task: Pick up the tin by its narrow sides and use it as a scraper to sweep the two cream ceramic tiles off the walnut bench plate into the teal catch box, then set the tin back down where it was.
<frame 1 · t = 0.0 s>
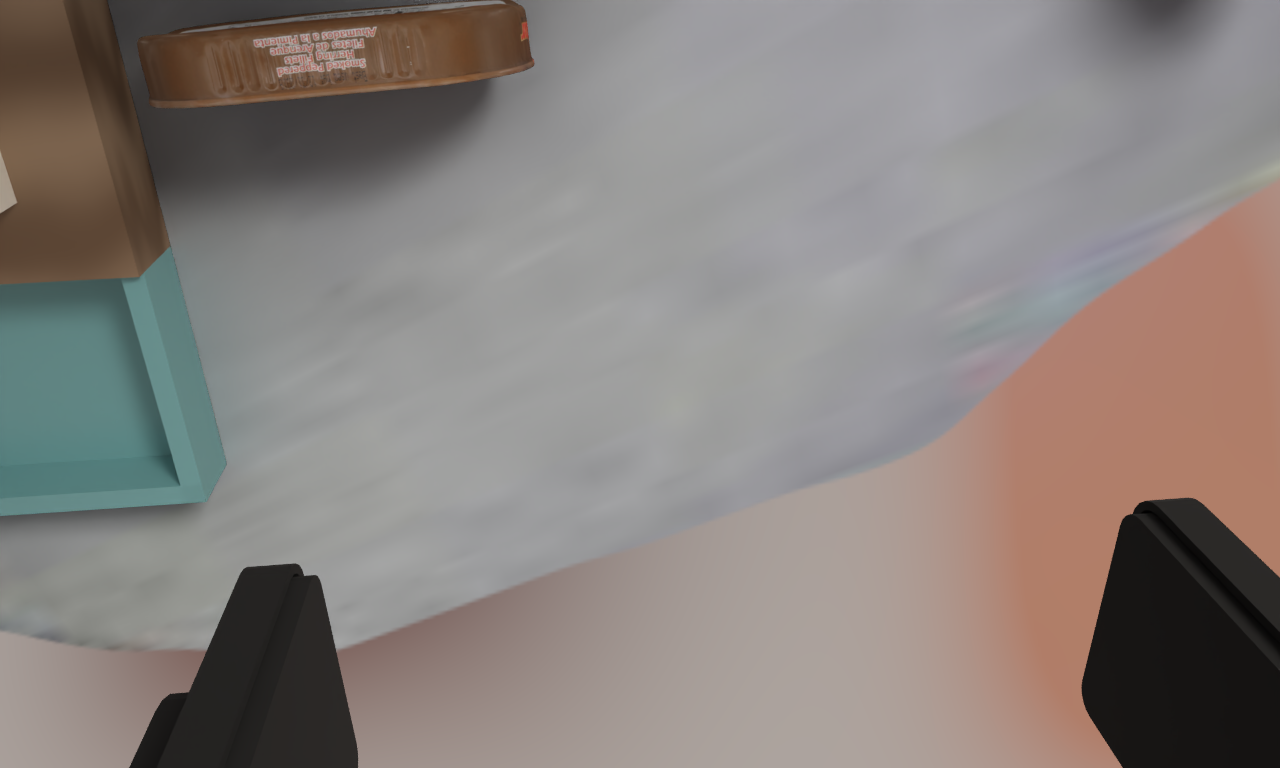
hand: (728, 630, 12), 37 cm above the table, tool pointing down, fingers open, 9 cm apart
tin: (358, 33, 43), on the table
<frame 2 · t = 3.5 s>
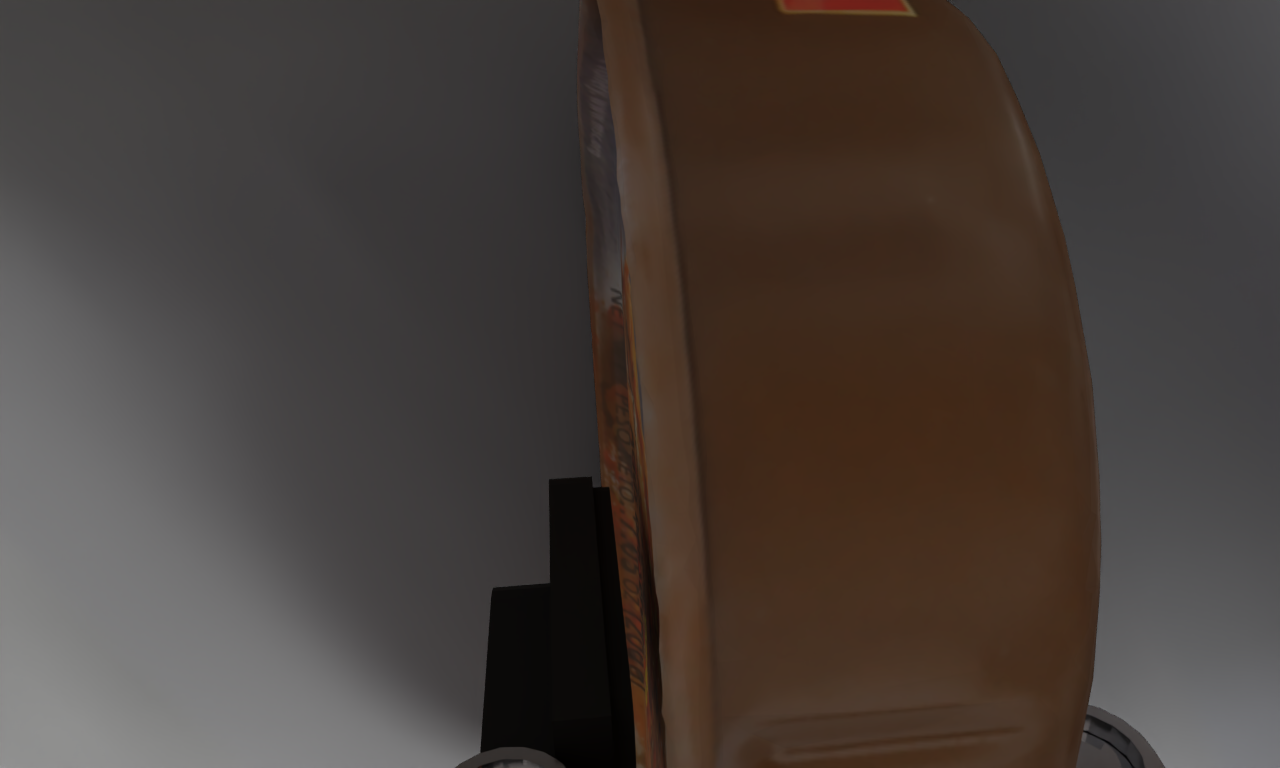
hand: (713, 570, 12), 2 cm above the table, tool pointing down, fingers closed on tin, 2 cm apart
tin: (708, 477, 14), on the table, touching gripper
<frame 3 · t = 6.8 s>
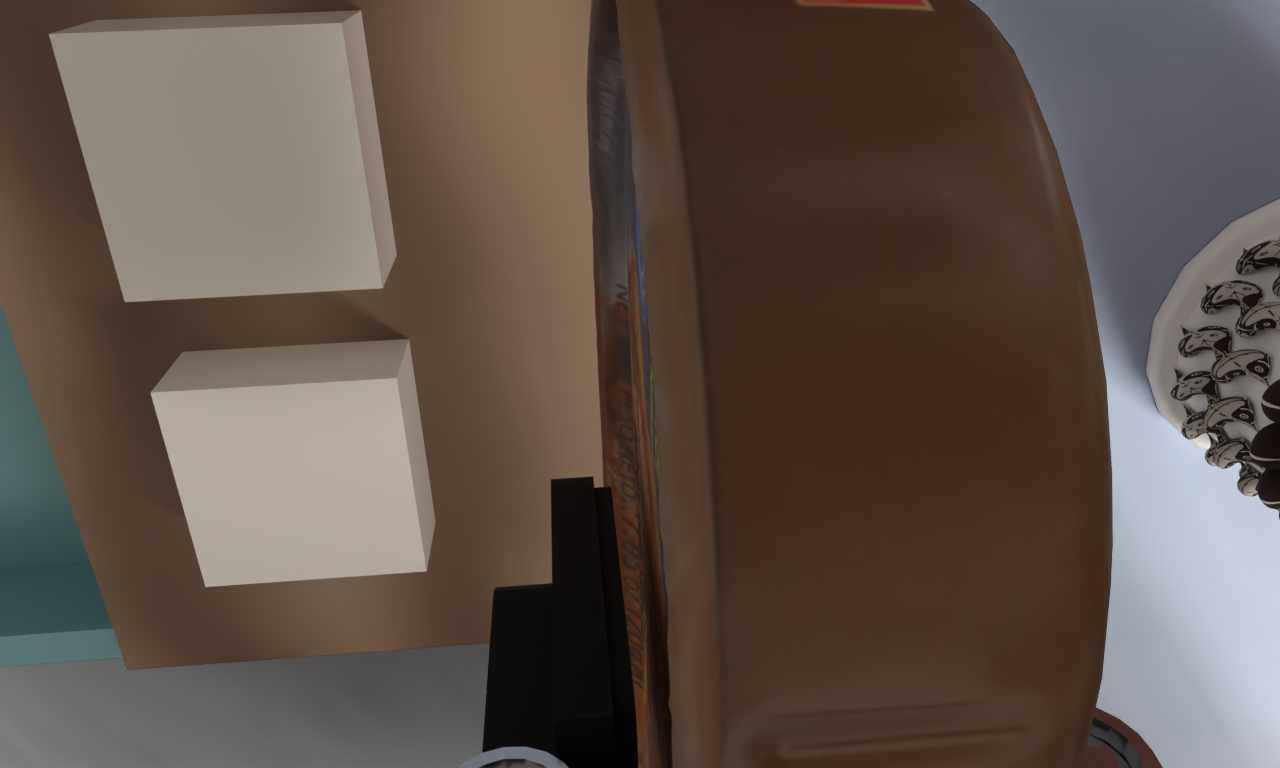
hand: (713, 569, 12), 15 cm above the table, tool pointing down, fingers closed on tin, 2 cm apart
tin: (710, 476, 14), point 13 cm above the table, touching gripper
cream tile 1: (256, 145, 20), point 4 cm above the table, touching bench plate
cream tile 2: (316, 441, 23), point 4 cm above the table, touching bench plate
bench plate: (443, 239, 25), on the table
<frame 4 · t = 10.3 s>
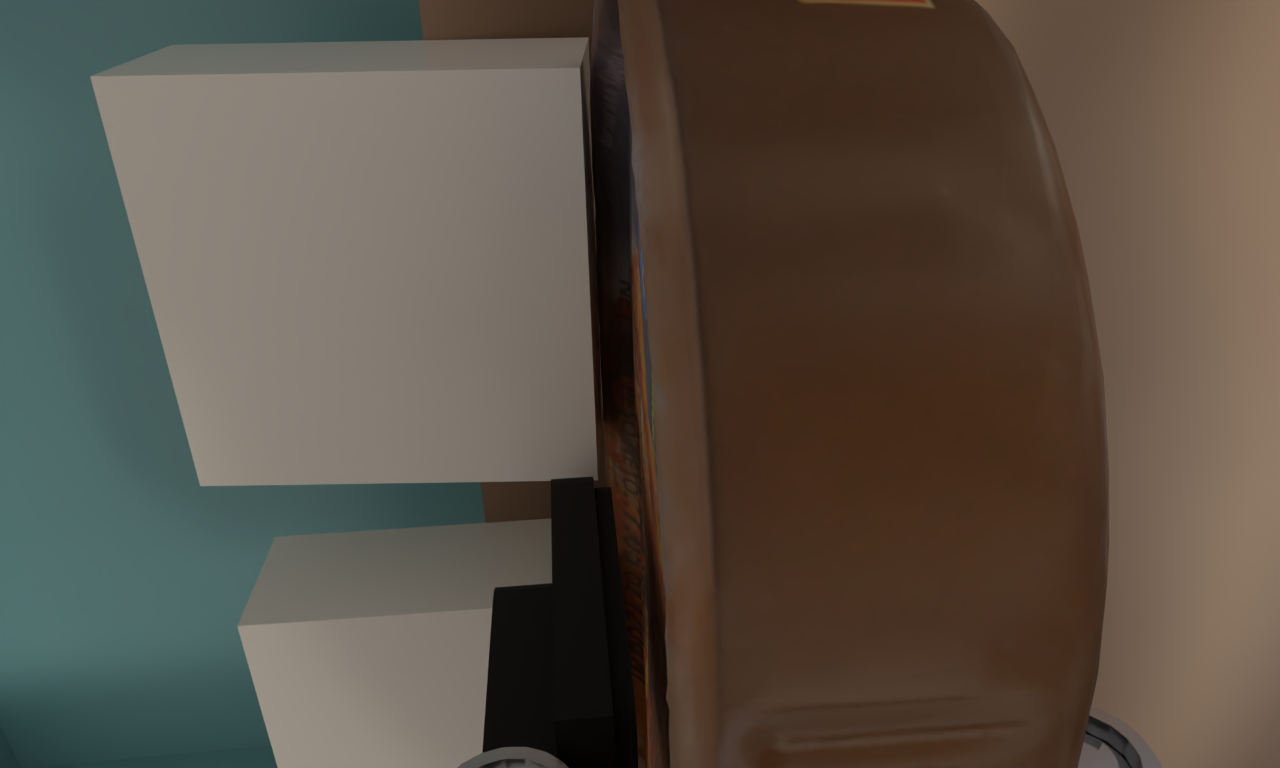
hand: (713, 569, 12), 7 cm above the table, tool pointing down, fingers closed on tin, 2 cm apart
tin: (713, 471, 14), point 4 cm above the table, touching cream tile 2, gripper
cream tile 1: (406, 239, 13), point 4 cm above the table, tilted 5°
cream tile 2: (459, 649, 16), point 4 cm above the table, touching bench plate, tin
bench plate: (965, 319, 19), on the table
catch box: (156, 374, 18), on the table
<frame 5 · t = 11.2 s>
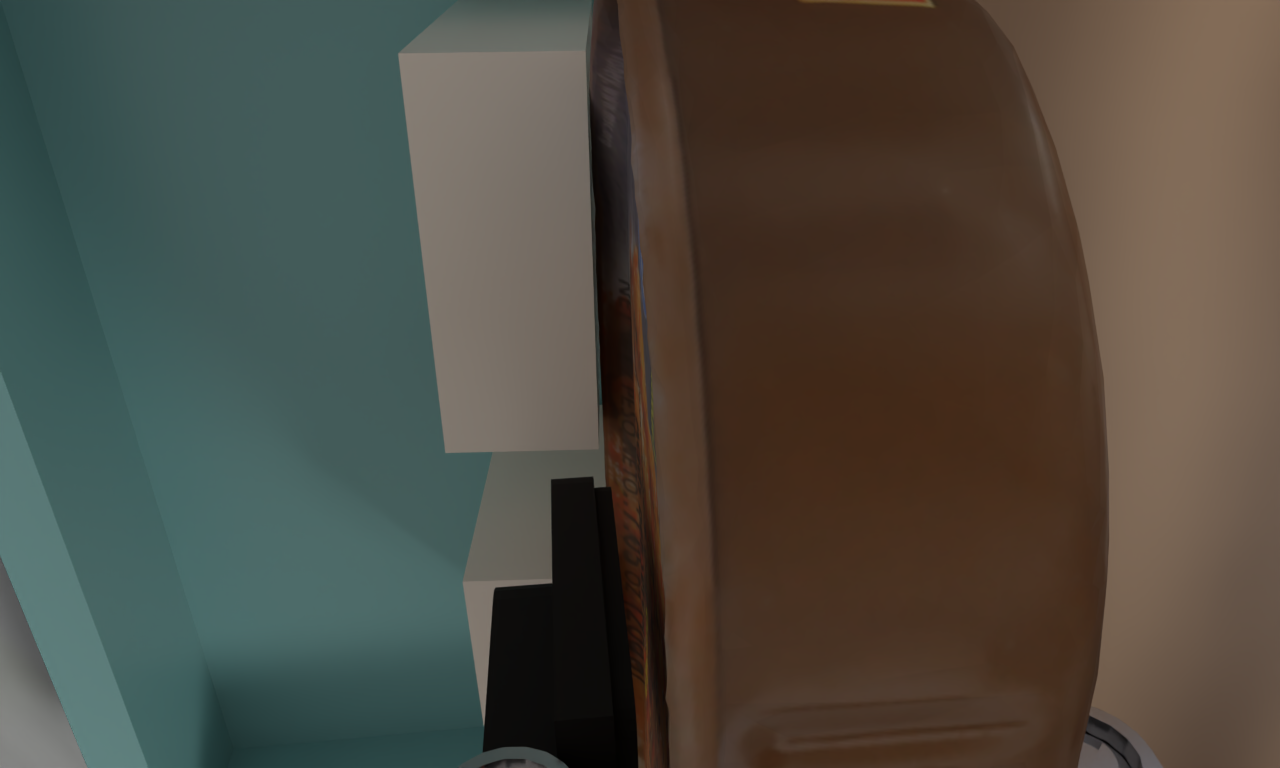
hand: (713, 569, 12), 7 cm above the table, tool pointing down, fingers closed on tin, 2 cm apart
tin: (712, 471, 14), point 4 cm above the table, touching gripper
cream tile 1: (595, 205, 14), point 3 cm above the table, tilted 93°, touching catch box
cream tile 2: (614, 599, 17), point 3 cm above the table, tilted 95°, touching catch box
bench plate: (1194, 305, 19), on the table
catch box: (409, 356, 18), on the table
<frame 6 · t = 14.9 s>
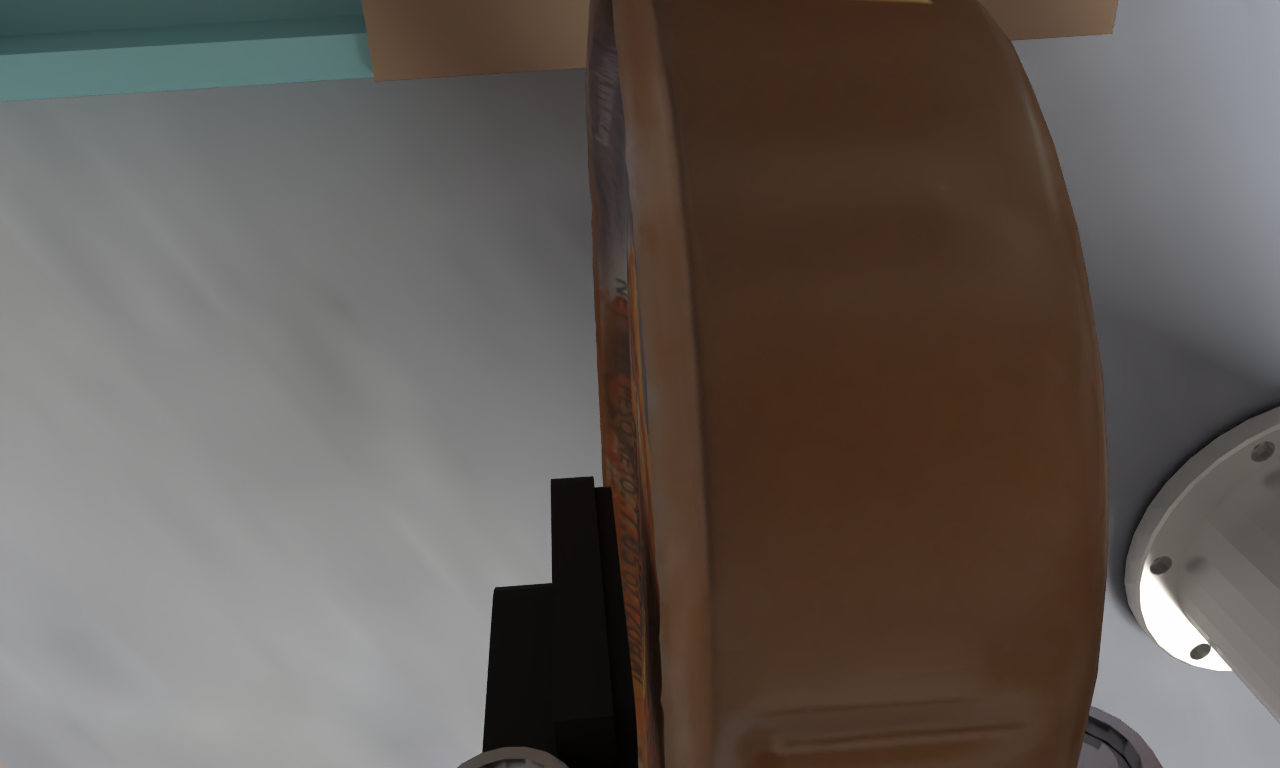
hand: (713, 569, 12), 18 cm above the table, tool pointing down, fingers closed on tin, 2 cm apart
tin: (710, 471, 14), point 16 cm above the table, touching gripper
when the fingers open (3 cm above the table, at t = 18.3 s): tin stays where it is, on the table.
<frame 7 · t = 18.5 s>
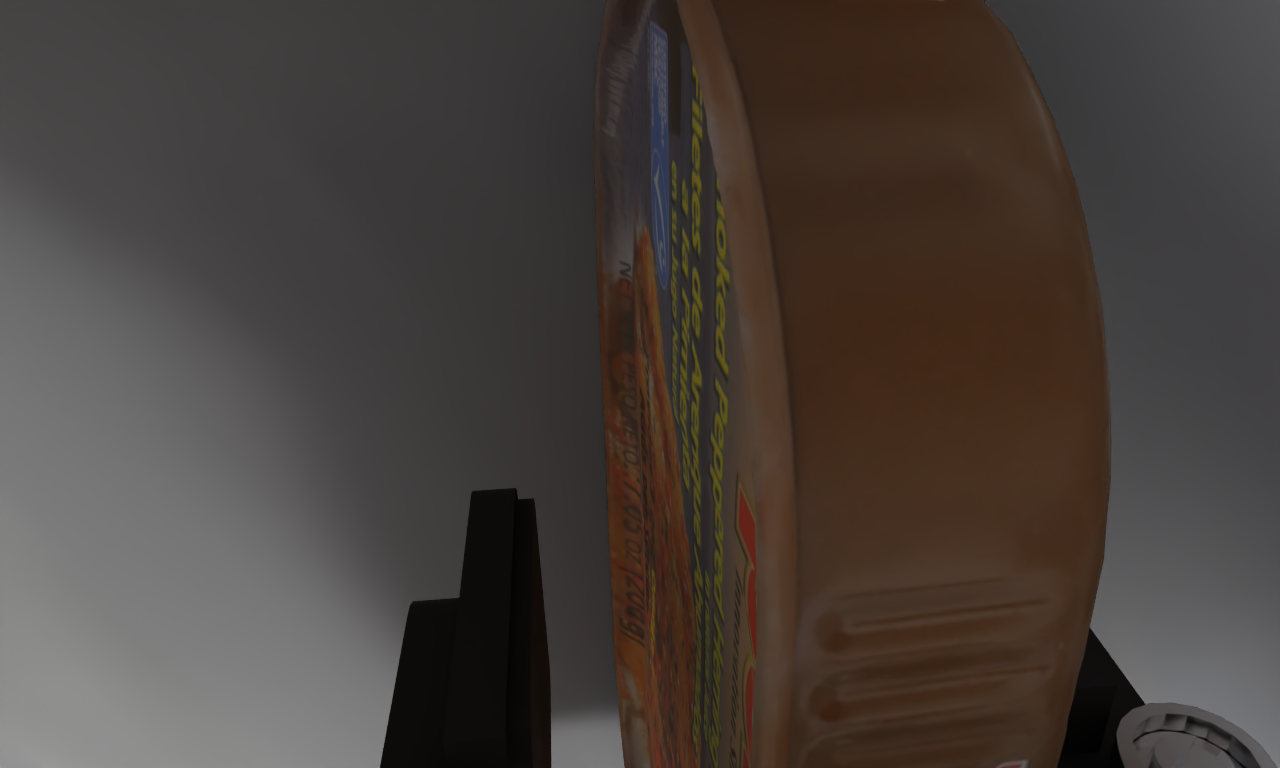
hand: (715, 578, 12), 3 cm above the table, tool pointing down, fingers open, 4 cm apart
tin: (704, 442, 15), on the table
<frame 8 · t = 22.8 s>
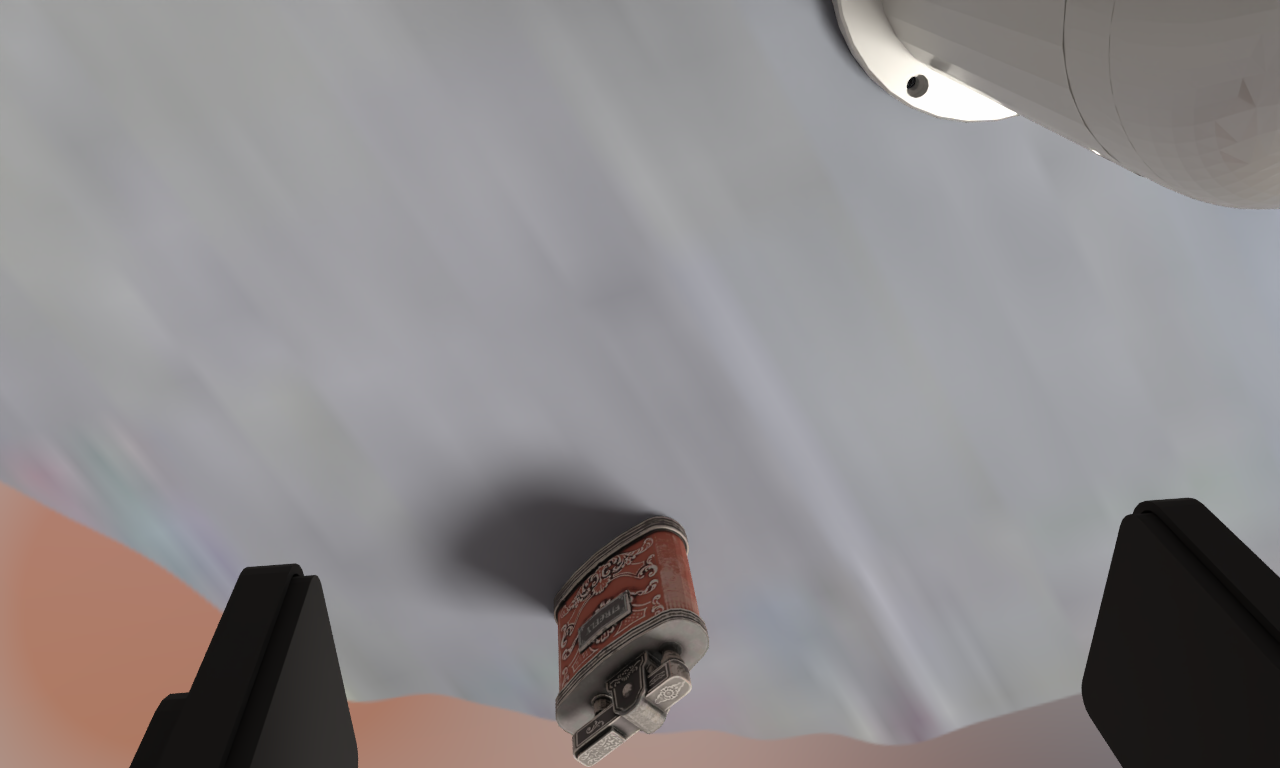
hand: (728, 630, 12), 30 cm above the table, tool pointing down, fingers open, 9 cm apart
lighter: (619, 569, 49), on the table
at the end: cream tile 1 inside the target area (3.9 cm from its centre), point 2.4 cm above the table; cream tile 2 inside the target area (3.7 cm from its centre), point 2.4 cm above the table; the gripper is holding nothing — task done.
